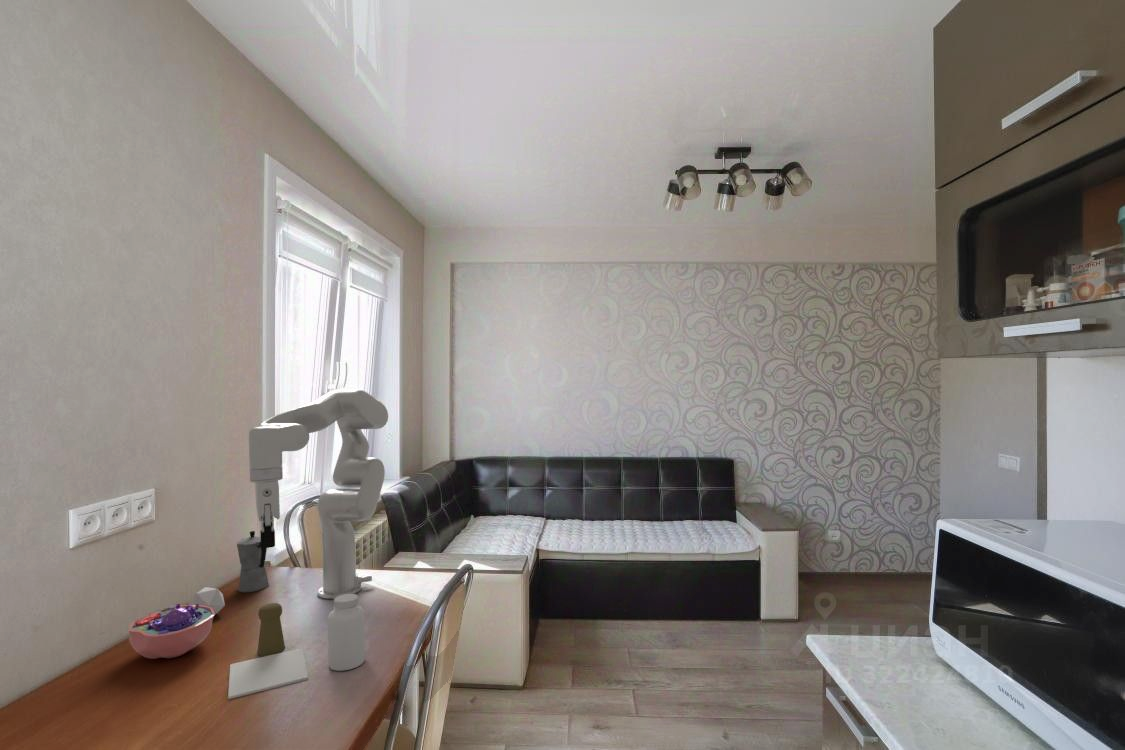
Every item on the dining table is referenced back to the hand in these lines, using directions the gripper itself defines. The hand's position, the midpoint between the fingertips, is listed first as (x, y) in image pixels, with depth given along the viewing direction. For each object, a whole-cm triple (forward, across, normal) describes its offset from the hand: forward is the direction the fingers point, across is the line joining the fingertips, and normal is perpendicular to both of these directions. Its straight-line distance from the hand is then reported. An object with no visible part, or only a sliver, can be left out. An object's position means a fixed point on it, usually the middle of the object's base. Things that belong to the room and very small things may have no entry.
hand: (267, 545), depth 147 cm
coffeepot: (+23, +43, +3) cm, 49 cm away
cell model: (+23, +3, +21) cm, 32 cm away
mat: (+23, -21, +1) cm, 31 cm away
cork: (+23, -9, 0) cm, 25 cm away
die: (+23, +24, +15) cm, 37 cm away
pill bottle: (+23, -26, -15) cm, 38 cm away
